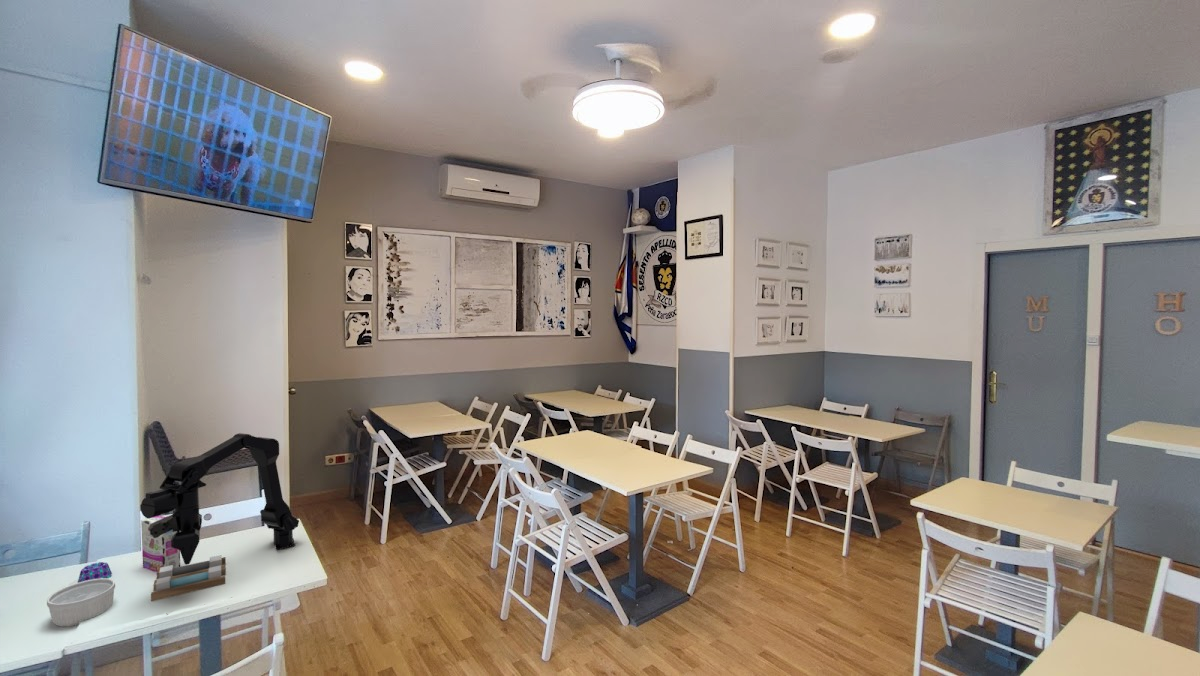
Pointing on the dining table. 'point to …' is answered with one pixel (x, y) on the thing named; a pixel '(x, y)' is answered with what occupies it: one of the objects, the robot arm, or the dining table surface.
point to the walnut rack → (189, 587)
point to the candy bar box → (158, 548)
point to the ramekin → (81, 601)
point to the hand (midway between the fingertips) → (188, 557)
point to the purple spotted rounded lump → (94, 572)
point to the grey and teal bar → (188, 579)
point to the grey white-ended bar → (190, 567)
